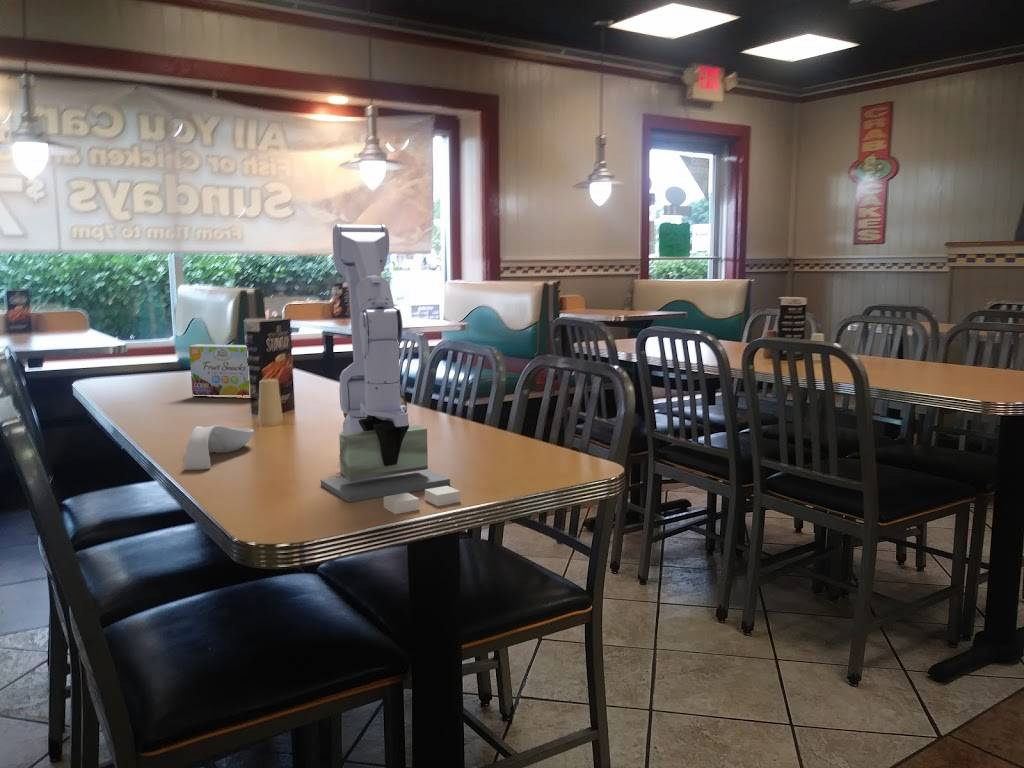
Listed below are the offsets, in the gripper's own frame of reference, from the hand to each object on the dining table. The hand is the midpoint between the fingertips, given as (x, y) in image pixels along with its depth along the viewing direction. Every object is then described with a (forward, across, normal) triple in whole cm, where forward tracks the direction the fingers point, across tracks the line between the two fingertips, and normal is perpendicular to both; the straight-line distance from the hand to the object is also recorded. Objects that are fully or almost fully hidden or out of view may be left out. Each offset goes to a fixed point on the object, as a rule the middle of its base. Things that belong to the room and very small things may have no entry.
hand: (384, 462), depth 133 cm
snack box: (+4, +114, -4) cm, 114 cm away
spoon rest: (+4, +40, +18) cm, 44 cm away
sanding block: (+2, 0, 0) cm, 2 cm away
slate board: (+4, 0, 0) cm, 4 cm away
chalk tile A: (+4, -14, +4) cm, 15 cm away
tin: (+4, +48, -20) cm, 52 cm away
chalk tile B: (+4, -14, -3) cm, 15 cm away
